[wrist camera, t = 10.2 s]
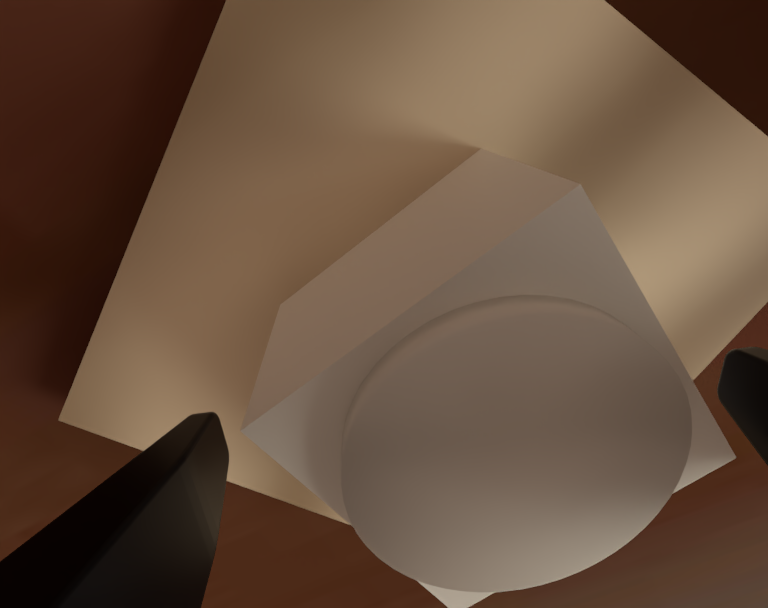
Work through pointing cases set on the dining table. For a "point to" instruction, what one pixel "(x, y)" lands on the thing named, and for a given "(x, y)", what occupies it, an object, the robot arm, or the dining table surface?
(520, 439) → the white domed square block
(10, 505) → the dining table surface
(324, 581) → the dining table surface
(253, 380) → the stud plate
